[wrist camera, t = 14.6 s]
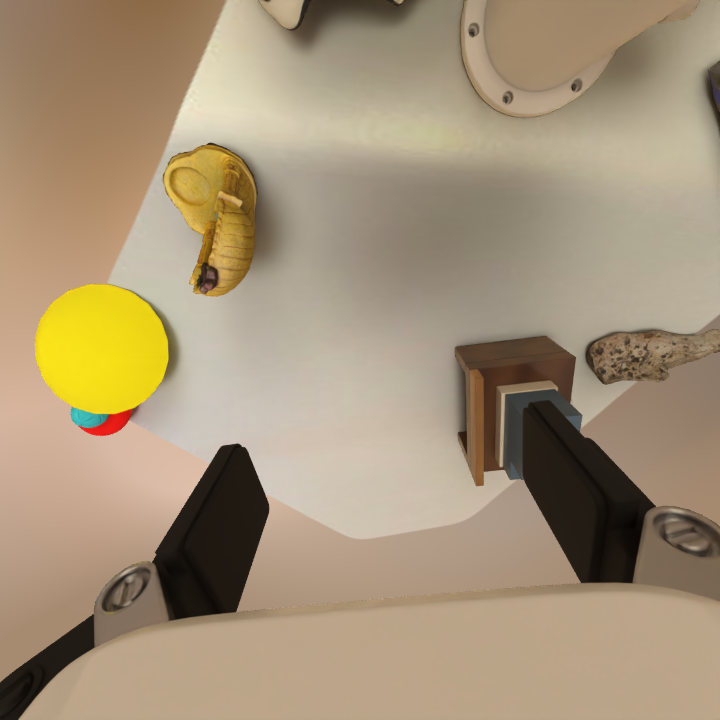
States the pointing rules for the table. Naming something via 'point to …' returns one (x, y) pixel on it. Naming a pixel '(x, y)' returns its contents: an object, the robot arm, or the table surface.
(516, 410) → the blue block
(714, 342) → the stone
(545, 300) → the table surface
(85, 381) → the toy
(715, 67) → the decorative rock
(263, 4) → the running shoe
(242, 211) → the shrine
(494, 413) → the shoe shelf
